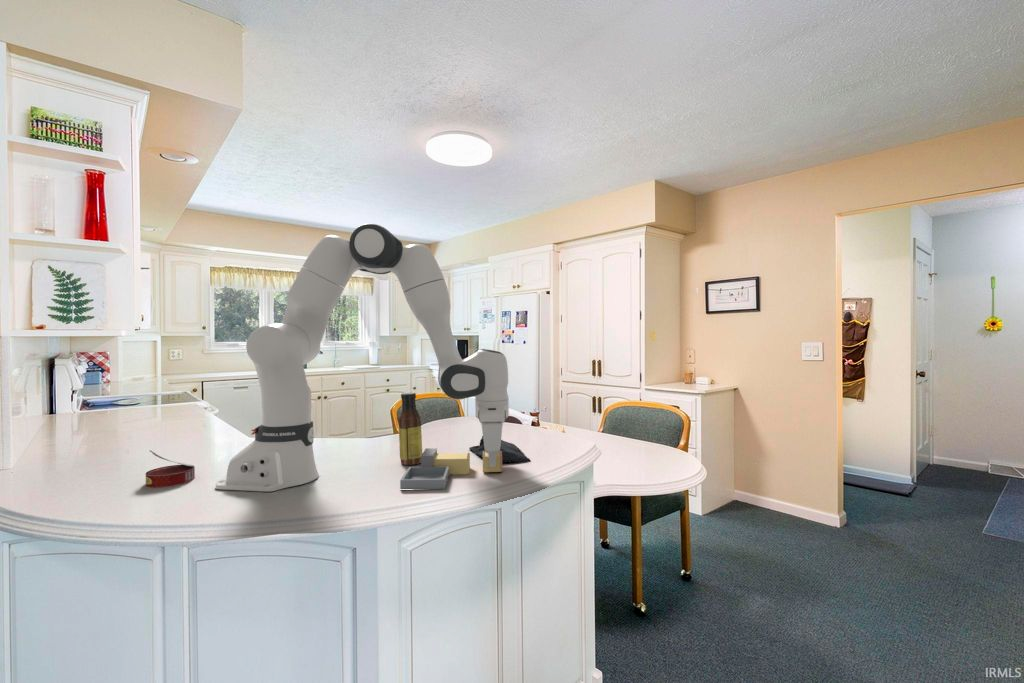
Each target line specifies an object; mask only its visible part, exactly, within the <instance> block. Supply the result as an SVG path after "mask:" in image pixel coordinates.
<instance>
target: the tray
mask: <svg viewBox="0 0 1024 683" xmlns="http://www.w3.org/2000/svg"><path fill="white" fill-rule="evenodd" d="M404 472H405V473H404V474H403V475H402V476H401V478H400V480H399V486H400V487H399V488H400V489H445V490H446V488H445V487H447V484H448V481H449V478H450V475H449V466H433V467H421V466H409V467H408V468H407V469H406V470H405V471H404ZM448 477H449V478H448ZM447 480H448V481H447ZM446 483H447V484H446ZM400 489H399V490H400Z"/></svg>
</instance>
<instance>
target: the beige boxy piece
mask: <svg viewBox="0 0 1024 683" xmlns="http://www.w3.org/2000/svg"><path fill="white" fill-rule="evenodd" d="M470 456H471V453H470V452H466V453H464V452H460V453H459V452H458V453H456V452H453V453H449V452H448V453H444V452H443V453H438V448H435V447H434V448H432V447H430V448H425V449H424V451H422V455H421V463H420V467H433V466H449V474H453V475H469V474H470V470H471V469H470V467H471V462H470V461H471V459H470V458H471V457H470ZM469 469H470V470H469Z"/></svg>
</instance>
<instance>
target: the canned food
mask: <svg viewBox="0 0 1024 683" xmlns="http://www.w3.org/2000/svg"><path fill="white" fill-rule="evenodd" d="M149 452H150V453H152V455H154V456H155V457H157V458H159V459H162V460H165V461H168V462H170V463H171V462H172V463H175V464H174V465H167V466H161V467H156V468H153V469H151V470H148V471H146V472H145V486H146V487H147V488H153V489H154V488H169V487H175V486H179V485H182V484H187V483H189V482H191V481H194V479H195V476H196V474H195V465H194V464H187V463H181V462H177V461H174V460H170V459H167V458H165V457H162V456H160V455H158V454H157V453H156V452H153V451H152V450H149Z"/></svg>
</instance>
